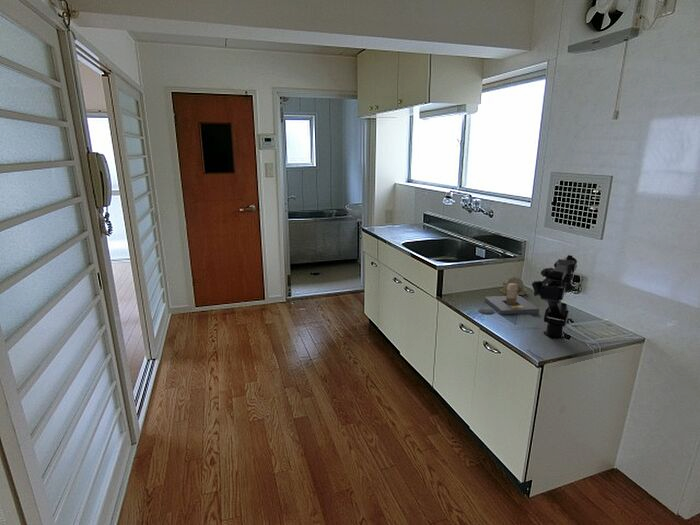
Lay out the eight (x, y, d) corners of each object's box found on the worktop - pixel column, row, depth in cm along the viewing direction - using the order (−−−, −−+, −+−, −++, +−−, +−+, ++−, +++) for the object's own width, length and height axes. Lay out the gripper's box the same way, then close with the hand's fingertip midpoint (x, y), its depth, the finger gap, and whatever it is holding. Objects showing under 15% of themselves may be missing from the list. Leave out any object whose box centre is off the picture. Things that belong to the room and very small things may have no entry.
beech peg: (515, 310, 207) (517, 286, 203) (505, 308, 209) (507, 285, 205) (515, 306, 211) (518, 283, 208) (505, 305, 213) (507, 282, 210)
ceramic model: (504, 296, 228) (505, 279, 226) (497, 289, 239) (499, 274, 236) (528, 296, 228) (530, 279, 225) (521, 289, 238) (523, 274, 236)
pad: (497, 316, 200) (497, 314, 199) (482, 316, 199) (482, 315, 199) (490, 310, 207) (490, 308, 207) (475, 310, 207) (475, 309, 206)
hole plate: (538, 314, 202) (539, 308, 201) (501, 316, 200) (501, 310, 199) (518, 300, 221) (519, 295, 220) (484, 302, 219) (484, 296, 218)
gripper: (572, 263, 186) (553, 278, 199) (536, 265, 182) (519, 280, 196) (582, 284, 180) (562, 298, 194) (545, 286, 177) (527, 301, 190)
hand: (542, 294), depth 194 cm, fingers open, 9 cm apart
